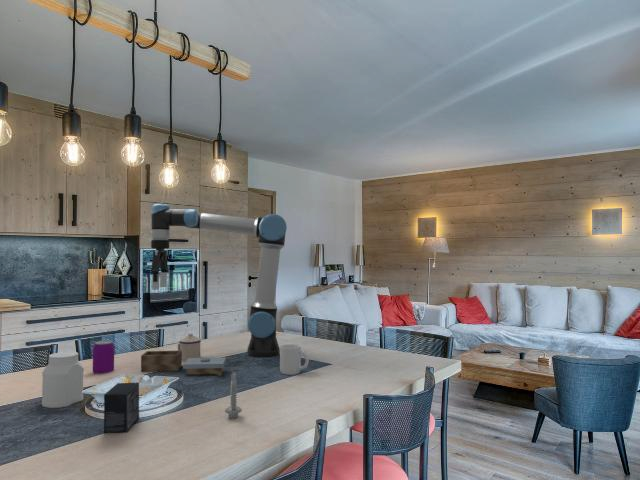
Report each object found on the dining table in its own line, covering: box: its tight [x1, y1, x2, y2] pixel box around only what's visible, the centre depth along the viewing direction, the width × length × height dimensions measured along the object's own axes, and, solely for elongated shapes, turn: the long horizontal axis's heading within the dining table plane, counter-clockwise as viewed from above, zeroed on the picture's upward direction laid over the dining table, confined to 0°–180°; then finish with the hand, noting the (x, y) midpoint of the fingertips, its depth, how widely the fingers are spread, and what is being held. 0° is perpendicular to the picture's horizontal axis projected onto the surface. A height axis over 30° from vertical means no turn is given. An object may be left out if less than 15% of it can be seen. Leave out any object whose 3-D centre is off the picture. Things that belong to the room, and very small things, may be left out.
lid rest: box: [186, 367, 224, 377], centre depth 180 cm, size 13×6×4 cm, turn 96°
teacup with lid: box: [177, 333, 202, 362], centre depth 203 cm, size 12×9×12 cm
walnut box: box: [140, 350, 183, 373], centre depth 185 cm, size 14×8×7 cm, turn 96°
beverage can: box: [92, 340, 115, 375], centre depth 181 cm, size 8×8×12 cm
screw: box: [224, 372, 243, 420], centre depth 134 cm, size 13×5×5 cm
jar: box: [41, 351, 85, 409], centre depth 146 cm, size 12×10×15 cm
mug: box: [279, 344, 310, 376], centre depth 183 cm, size 12×8×10 cm
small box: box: [103, 382, 140, 434], centre depth 127 cm, size 11×6×10 cm, turn 5°
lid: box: [182, 356, 227, 370], centre depth 180 cm, size 15×10×2 cm
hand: (159, 288), depth 200 cm, fingers open, 13 cm apart
